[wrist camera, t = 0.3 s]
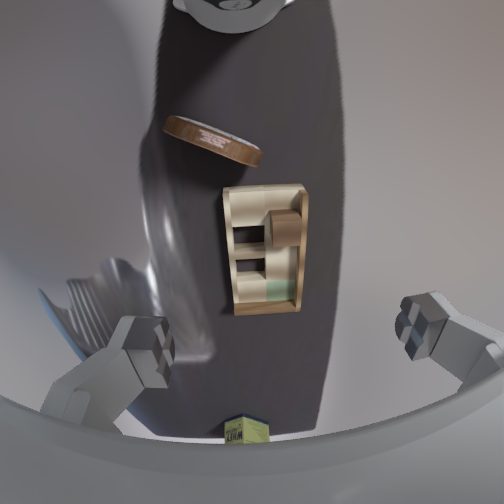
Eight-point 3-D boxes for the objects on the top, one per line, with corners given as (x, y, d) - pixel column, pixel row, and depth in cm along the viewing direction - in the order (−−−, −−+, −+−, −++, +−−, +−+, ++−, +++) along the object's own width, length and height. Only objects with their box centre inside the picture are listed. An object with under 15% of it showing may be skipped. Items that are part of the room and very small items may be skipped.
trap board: (223, 187, 44) (221, 199, 40) (301, 183, 45) (308, 194, 40) (234, 297, 57) (234, 315, 53) (295, 292, 58) (300, 310, 53)
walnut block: (269, 209, 44) (272, 221, 40) (296, 208, 44) (302, 220, 40) (270, 233, 46) (273, 247, 42) (295, 232, 46) (300, 245, 42)
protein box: (242, 413, 90) (244, 448, 77) (268, 421, 96) (271, 454, 83) (223, 419, 93) (223, 453, 80) (250, 428, 100) (251, 459, 87)
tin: (169, 127, 38) (154, 134, 31) (176, 109, 37) (162, 112, 30) (255, 161, 42) (258, 176, 35) (263, 144, 41) (269, 155, 34)
